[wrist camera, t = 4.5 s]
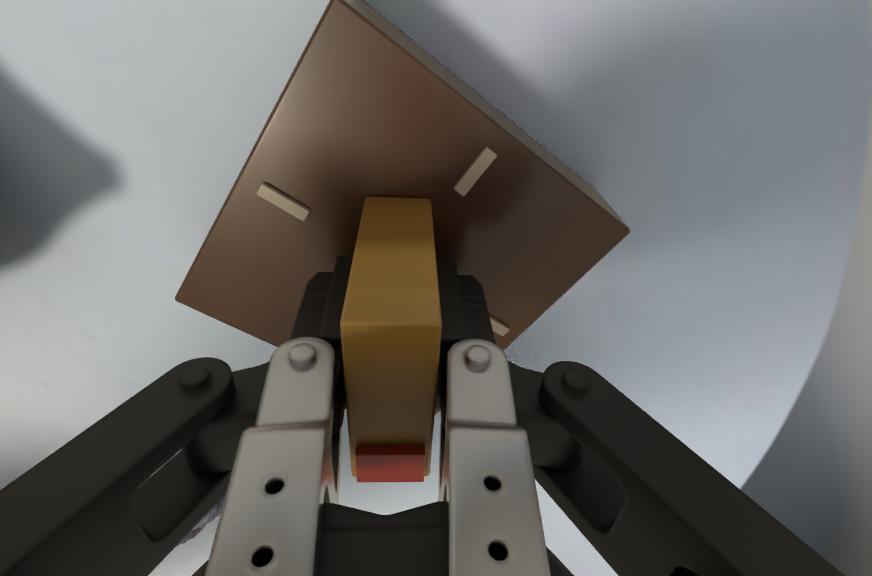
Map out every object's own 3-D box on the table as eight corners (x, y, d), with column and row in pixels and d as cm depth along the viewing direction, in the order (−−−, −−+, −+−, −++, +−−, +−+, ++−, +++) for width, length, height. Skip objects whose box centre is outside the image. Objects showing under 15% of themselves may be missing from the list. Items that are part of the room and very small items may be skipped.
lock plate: (207, 252, 17) (170, 303, 14) (349, -12, 12) (332, -8, 10) (429, 364, 20) (432, 421, 18) (598, 191, 16) (634, 234, 13)
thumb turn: (365, 195, 12) (337, 331, 8) (430, 197, 13) (443, 332, 8) (369, 326, 15) (350, 488, 10) (423, 327, 15) (429, 487, 10)
